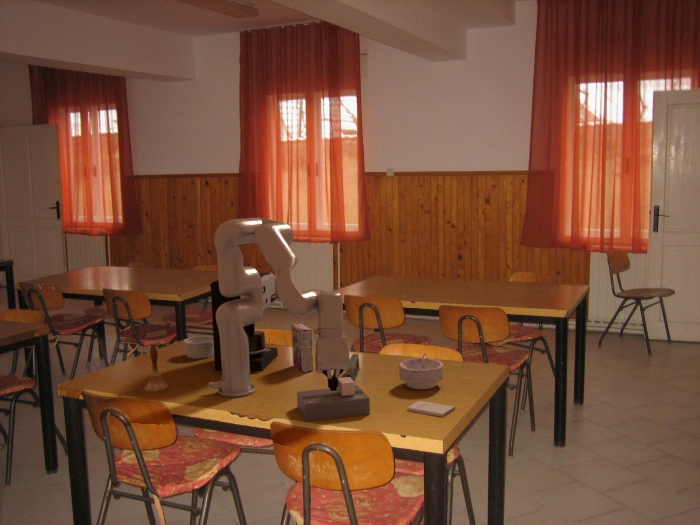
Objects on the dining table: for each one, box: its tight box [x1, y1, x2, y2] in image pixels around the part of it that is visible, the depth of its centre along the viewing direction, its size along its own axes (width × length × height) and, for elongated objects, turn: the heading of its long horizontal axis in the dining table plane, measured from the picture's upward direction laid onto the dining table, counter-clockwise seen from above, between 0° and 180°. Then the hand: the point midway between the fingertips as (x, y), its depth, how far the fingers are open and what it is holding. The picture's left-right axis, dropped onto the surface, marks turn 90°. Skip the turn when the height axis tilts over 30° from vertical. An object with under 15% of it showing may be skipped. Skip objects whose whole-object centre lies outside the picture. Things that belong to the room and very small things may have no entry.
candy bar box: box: [290, 323, 314, 373], centre depth 264 cm, size 11×5×16 cm, turn 22°
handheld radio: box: [345, 353, 360, 382], centre depth 248 cm, size 7×3×25 cm
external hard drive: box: [406, 400, 456, 418], centre depth 214 cm, size 2×8×12 cm
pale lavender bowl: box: [398, 357, 444, 391], centre depth 238 cm, size 15×15×8 cm
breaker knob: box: [337, 376, 355, 396], centre depth 216 cm, size 4×6×4 cm, turn 14°
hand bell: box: [144, 343, 169, 393], centre depth 244 cm, size 8×8×16 cm
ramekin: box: [183, 335, 214, 360], centre depth 289 cm, size 13×13×7 cm
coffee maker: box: [209, 272, 279, 373], centre depth 271 cm, size 28×20×35 cm
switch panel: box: [296, 385, 371, 422], centre depth 215 cm, size 20×14×5 cm
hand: (333, 389), depth 215 cm, fingers closed
